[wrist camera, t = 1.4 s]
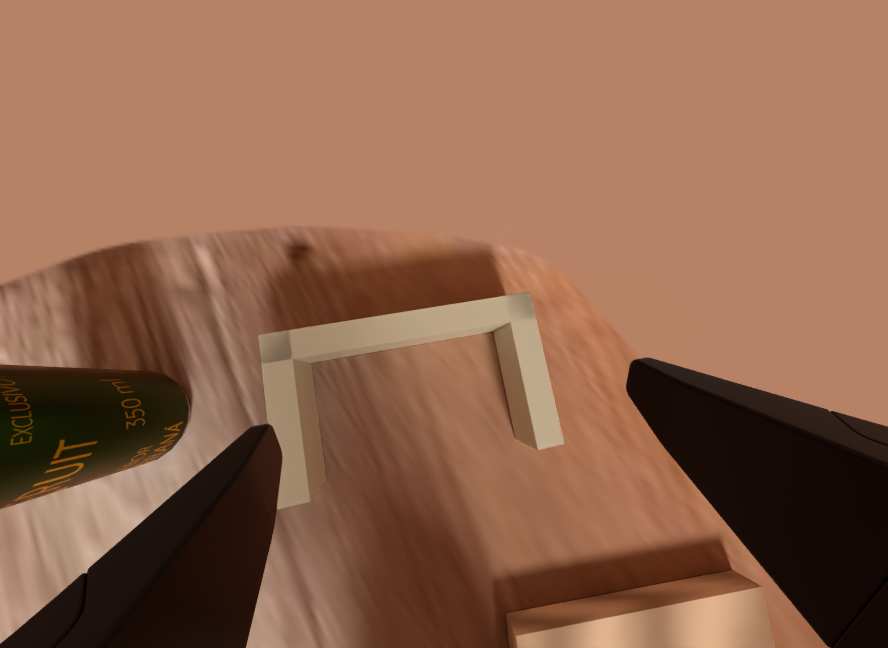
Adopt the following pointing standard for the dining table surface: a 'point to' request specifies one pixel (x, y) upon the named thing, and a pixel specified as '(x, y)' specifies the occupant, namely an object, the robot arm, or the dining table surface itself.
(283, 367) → the beige u-shaped bracket
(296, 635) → the dining table surface
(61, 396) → the guarana soda can
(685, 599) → the slat
